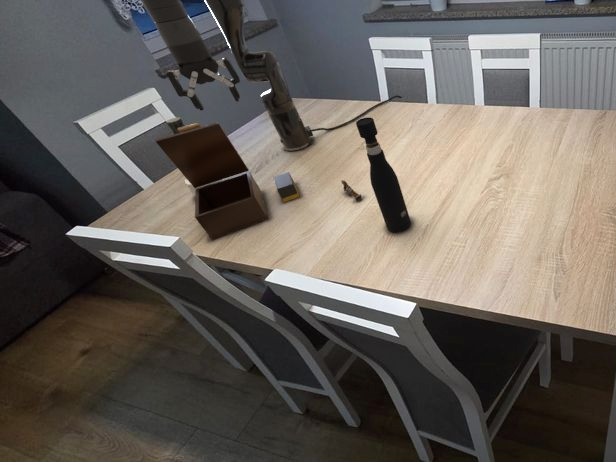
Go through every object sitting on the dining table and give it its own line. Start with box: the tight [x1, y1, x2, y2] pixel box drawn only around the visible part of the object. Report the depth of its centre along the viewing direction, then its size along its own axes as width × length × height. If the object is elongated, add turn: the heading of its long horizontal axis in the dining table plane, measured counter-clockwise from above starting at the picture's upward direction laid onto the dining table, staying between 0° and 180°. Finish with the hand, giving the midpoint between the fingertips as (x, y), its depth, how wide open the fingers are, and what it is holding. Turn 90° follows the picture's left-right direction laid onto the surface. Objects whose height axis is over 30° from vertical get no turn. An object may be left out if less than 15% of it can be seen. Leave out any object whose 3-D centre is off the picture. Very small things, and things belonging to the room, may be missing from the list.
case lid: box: [154, 122, 250, 188], centre depth 112 cm, size 18×15×5 cm
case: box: [194, 170, 269, 240], centre depth 116 cm, size 17×15×8 cm
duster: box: [273, 171, 300, 203], centre depth 123 cm, size 5×8×5 cm, turn 30°
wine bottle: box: [355, 116, 412, 234], centre depth 97 cm, size 6×6×30 cm
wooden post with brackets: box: [340, 179, 363, 202], centre depth 119 cm, size 2×8×4 cm, turn 49°
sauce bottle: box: [165, 117, 185, 135], centre depth 133 cm, size 7×6×20 cm
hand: (220, 104), depth 106 cm, fingers open, 8 cm apart
